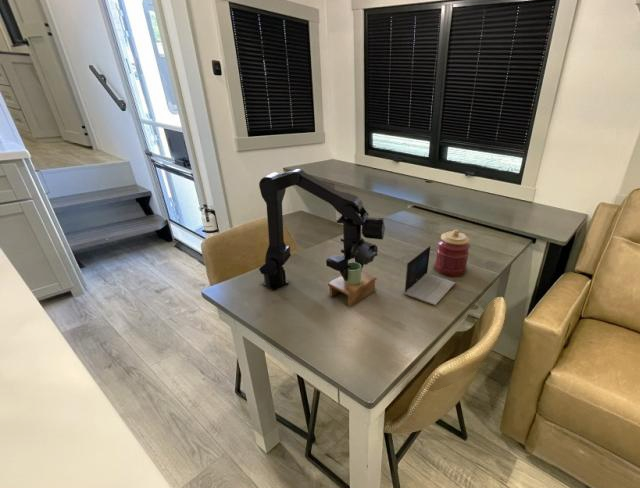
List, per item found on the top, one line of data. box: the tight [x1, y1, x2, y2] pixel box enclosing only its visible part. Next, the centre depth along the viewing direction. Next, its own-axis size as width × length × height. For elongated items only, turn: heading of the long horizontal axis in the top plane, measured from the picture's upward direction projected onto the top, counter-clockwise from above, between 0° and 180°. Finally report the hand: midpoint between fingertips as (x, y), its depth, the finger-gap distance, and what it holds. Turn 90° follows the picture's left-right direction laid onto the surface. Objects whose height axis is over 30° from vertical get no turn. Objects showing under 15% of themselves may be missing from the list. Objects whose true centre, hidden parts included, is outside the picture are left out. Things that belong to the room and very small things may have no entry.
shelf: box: [327, 270, 377, 307], centre depth 116 cm, size 14×10×6 cm
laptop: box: [404, 245, 456, 306], centre depth 120 cm, size 18×12×13 cm
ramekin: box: [344, 261, 363, 285], centre depth 114 cm, size 6×6×6 cm
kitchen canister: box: [434, 229, 471, 277], centre depth 134 cm, size 13×13×18 cm
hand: (352, 276), depth 114 cm, fingers closed on ramekin, 6 cm apart
